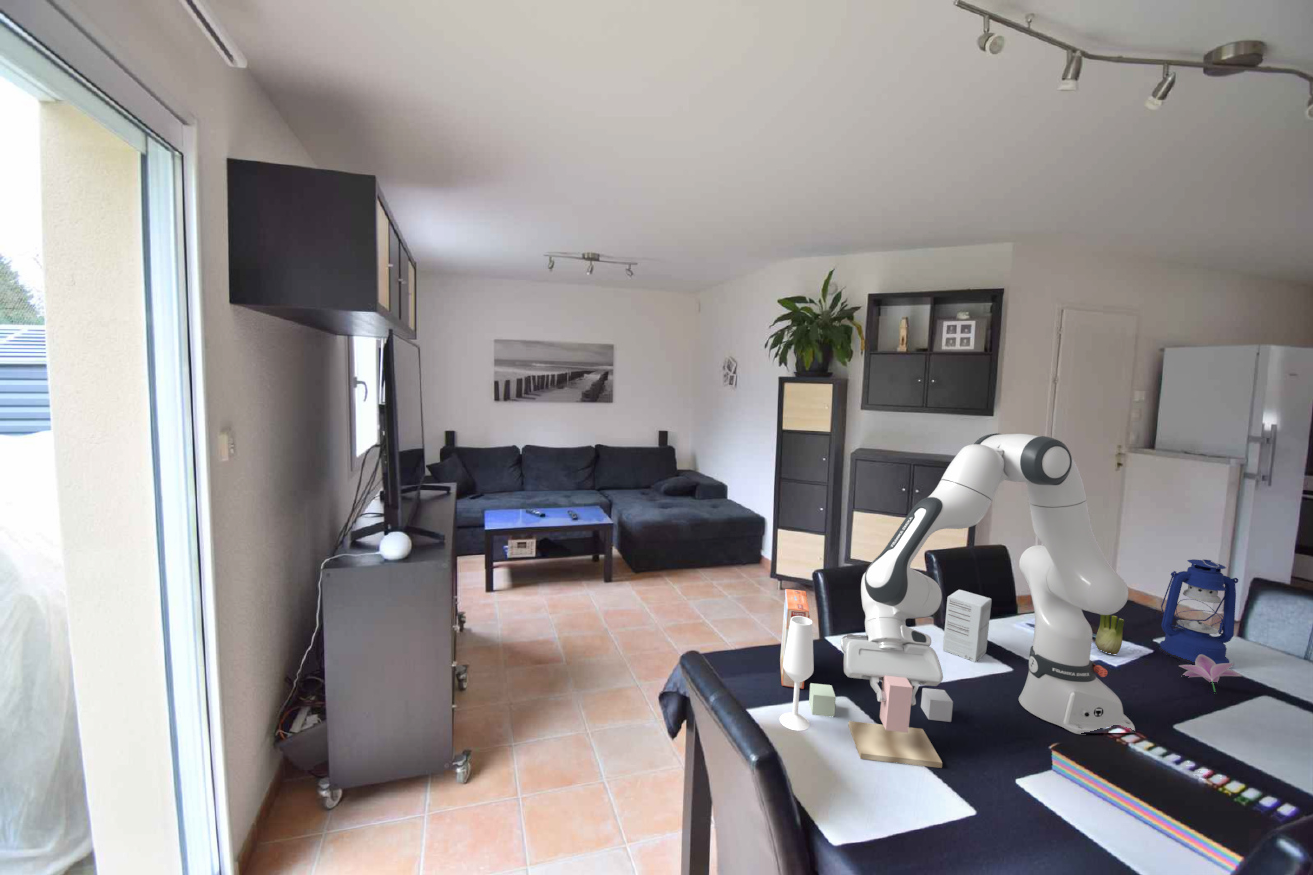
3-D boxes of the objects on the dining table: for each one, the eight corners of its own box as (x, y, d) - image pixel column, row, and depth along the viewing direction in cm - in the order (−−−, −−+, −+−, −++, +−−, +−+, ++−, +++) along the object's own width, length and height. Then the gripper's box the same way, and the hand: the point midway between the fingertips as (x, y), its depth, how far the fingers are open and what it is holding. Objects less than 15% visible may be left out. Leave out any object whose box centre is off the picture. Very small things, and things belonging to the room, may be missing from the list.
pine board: (922, 733, 122) (922, 728, 122) (941, 768, 111) (942, 762, 111) (848, 726, 124) (848, 721, 124) (860, 758, 113) (860, 753, 113)
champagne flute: (810, 716, 127) (817, 617, 124) (808, 733, 120) (816, 629, 118) (781, 710, 129) (787, 612, 126) (777, 726, 123) (784, 623, 120)
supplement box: (953, 641, 168) (958, 588, 167) (986, 652, 162) (992, 598, 160) (941, 650, 162) (946, 595, 160) (975, 663, 155) (981, 606, 154)
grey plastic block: (942, 709, 132) (944, 690, 131) (951, 722, 127) (953, 702, 126) (920, 707, 132) (922, 687, 132) (928, 719, 127) (930, 699, 127)
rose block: (901, 719, 119) (905, 676, 118) (908, 732, 114) (912, 687, 113) (879, 717, 119) (883, 674, 118) (885, 730, 115) (890, 685, 114)
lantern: (1173, 663, 160) (1187, 563, 157) (1144, 640, 174) (1156, 549, 171) (1247, 674, 155) (1263, 572, 152) (1211, 649, 169) (1225, 556, 166)
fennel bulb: (1122, 658, 162) (1127, 619, 161) (1105, 657, 162) (1110, 618, 161) (1106, 648, 168) (1111, 611, 166) (1090, 647, 168) (1095, 610, 166)
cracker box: (805, 690, 138) (810, 610, 136) (780, 686, 139) (785, 607, 137) (801, 663, 151) (806, 590, 149) (779, 660, 153) (784, 587, 150)
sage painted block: (830, 705, 132) (831, 685, 131) (834, 717, 127) (835, 697, 126) (808, 702, 132) (810, 683, 132) (812, 715, 128) (813, 694, 127)
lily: (1249, 700, 143) (1239, 661, 147) (1244, 696, 136) (1233, 655, 140) (1187, 695, 152) (1178, 658, 155) (1179, 691, 145) (1171, 652, 149)
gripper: (843, 628, 123) (849, 693, 114) (938, 637, 121) (952, 704, 112) (837, 638, 128) (843, 701, 119) (928, 646, 126) (941, 711, 117)
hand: (896, 702), depth 116 cm, fingers closed on rose block, 4 cm apart
